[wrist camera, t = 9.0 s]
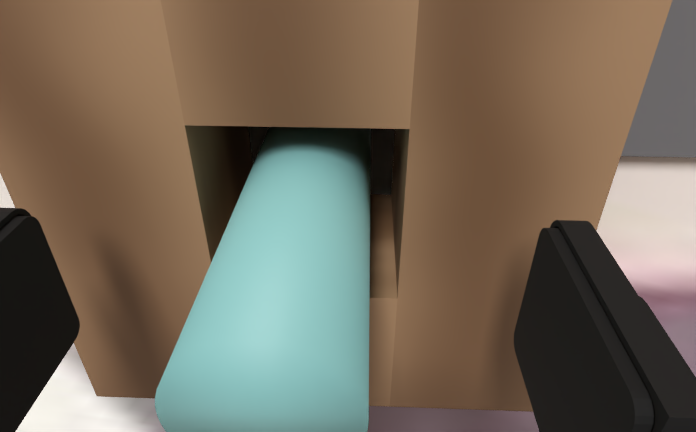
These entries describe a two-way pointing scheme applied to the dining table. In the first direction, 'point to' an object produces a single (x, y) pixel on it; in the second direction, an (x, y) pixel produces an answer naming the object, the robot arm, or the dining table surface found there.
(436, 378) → the hole block
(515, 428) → the dining table surface
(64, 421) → the dining table surface
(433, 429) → the dining table surface
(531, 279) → the robot arm
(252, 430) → the peg
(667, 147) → the mat
